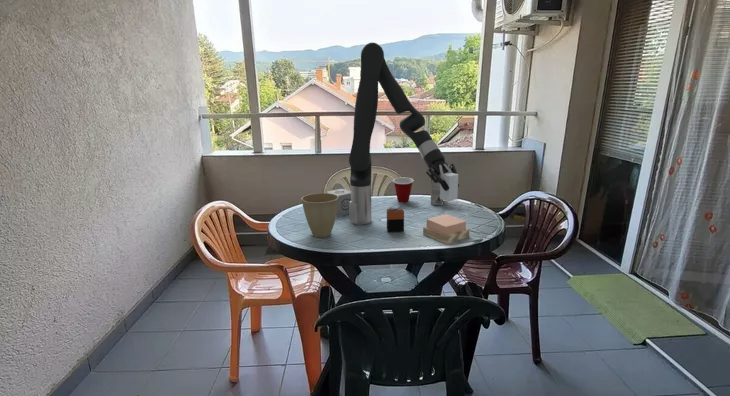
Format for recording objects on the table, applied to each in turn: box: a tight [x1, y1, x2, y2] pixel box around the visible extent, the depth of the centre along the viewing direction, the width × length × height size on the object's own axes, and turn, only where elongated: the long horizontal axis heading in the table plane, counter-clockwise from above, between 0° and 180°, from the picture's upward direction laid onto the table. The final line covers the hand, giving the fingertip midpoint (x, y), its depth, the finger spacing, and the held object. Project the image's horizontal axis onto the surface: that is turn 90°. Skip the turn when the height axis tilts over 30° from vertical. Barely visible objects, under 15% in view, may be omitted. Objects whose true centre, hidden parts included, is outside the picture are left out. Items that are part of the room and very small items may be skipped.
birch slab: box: [422, 226, 470, 245], centre depth 152 cm, size 13×13×4 cm
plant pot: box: [301, 192, 339, 238], centre depth 153 cm, size 15×15×16 cm
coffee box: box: [430, 176, 444, 206], centre depth 194 cm, size 9×6×16 cm
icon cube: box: [324, 188, 351, 217], centre depth 182 cm, size 10×10×10 cm
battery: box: [386, 206, 405, 233], centre depth 157 cm, size 4×7×10 cm, turn 96°
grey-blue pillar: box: [440, 173, 459, 202], centre depth 146 cm, size 5×5×10 cm
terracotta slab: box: [426, 213, 467, 235], centre depth 151 cm, size 11×11×4 cm
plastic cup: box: [392, 176, 415, 204], centre depth 197 cm, size 11×11×12 cm
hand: (452, 188), depth 145 cm, fingers closed on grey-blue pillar, 4 cm apart
